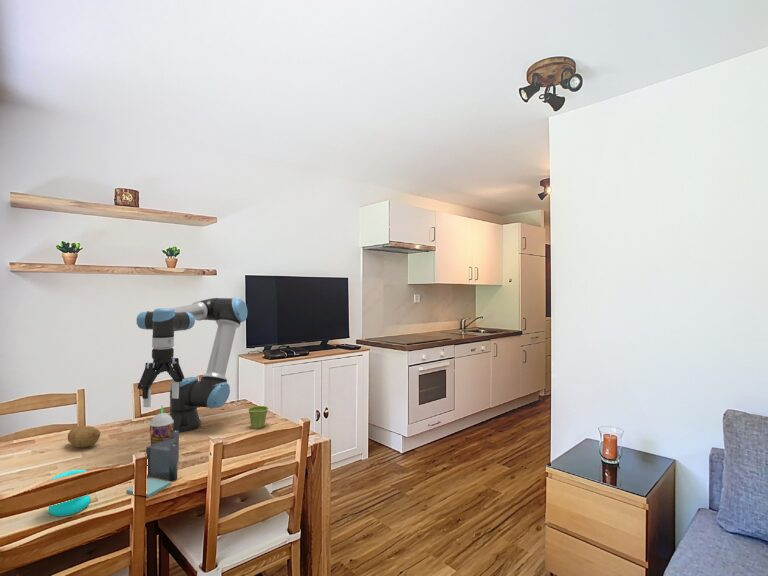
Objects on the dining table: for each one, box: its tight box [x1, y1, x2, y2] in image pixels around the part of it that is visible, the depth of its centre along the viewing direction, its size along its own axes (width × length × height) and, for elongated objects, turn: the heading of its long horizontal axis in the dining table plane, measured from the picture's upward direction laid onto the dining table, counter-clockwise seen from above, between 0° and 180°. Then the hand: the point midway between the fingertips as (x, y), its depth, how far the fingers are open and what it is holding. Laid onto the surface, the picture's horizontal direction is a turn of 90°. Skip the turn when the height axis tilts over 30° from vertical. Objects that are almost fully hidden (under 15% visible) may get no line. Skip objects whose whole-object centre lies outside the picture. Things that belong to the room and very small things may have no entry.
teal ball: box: [47, 469, 91, 517], centre depth 122 cm, size 10×10×10 cm
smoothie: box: [149, 405, 174, 445], centre depth 160 cm, size 8×8×20 cm
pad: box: [126, 477, 172, 498], centre depth 135 cm, size 9×9×1 cm
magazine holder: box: [145, 430, 180, 482], centre depth 149 cm, size 13×14×12 cm
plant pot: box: [247, 405, 269, 430], centre depth 197 cm, size 9×9×9 cm
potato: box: [67, 425, 101, 448], centre depth 169 cm, size 10×14×8 cm
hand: (161, 402), depth 160 cm, fingers open, 13 cm apart
